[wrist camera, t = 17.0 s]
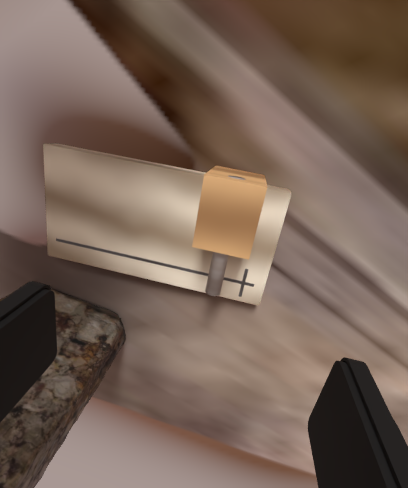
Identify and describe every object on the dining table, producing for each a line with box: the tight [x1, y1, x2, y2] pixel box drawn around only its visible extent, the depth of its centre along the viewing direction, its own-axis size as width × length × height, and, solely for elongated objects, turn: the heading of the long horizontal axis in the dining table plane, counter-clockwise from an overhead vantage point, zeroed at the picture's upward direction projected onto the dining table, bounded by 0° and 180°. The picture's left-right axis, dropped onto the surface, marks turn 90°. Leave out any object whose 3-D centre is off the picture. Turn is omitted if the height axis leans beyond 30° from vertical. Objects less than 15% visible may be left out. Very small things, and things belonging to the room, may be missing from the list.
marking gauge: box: [192, 166, 267, 296], centre depth 22 cm, size 9×4×6 cm, turn 170°
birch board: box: [43, 143, 292, 306], centre depth 27 cm, size 11×22×2 cm, turn 80°
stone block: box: [0, 287, 125, 488], centre depth 25 cm, size 13×7×20 cm, turn 76°
